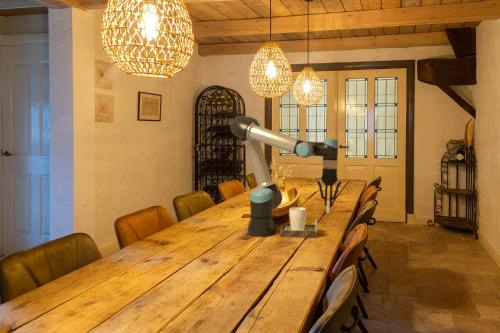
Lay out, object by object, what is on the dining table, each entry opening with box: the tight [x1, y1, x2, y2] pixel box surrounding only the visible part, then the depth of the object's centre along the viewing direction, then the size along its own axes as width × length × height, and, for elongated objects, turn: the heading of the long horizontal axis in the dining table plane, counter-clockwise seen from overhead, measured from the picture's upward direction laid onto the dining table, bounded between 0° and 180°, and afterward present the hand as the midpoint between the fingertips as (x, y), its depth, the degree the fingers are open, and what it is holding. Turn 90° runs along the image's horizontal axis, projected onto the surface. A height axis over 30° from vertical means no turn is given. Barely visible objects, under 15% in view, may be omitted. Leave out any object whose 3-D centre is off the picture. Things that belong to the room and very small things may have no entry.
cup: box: [288, 206, 307, 231], centre depth 238 cm, size 9×9×12 cm
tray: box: [284, 218, 318, 237], centre depth 238 cm, size 17×13×6 cm
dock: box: [279, 223, 316, 239], centre depth 238 cm, size 18×16×3 cm
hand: (327, 212), depth 239 cm, fingers closed
